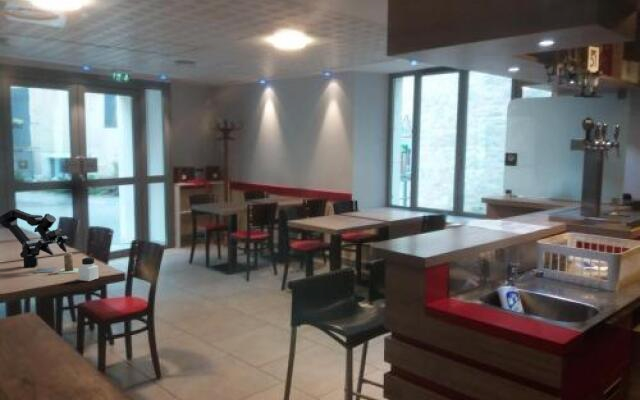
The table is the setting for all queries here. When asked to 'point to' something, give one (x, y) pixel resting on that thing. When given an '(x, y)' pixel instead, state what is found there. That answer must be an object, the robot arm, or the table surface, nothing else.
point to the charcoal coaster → (45, 270)
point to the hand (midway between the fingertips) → (59, 253)
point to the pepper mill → (68, 261)
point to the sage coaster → (68, 271)
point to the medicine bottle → (88, 270)
